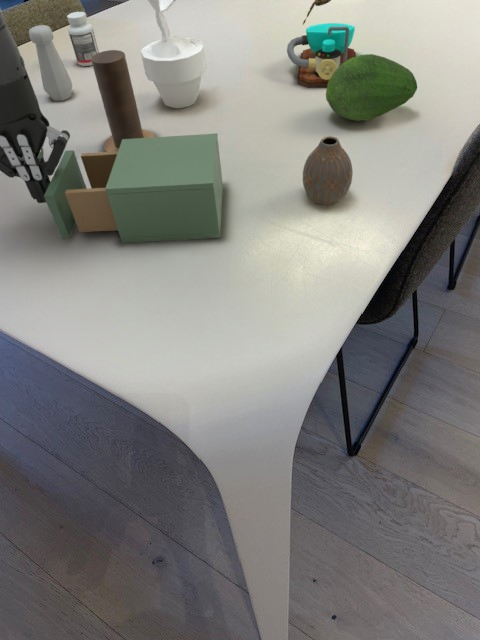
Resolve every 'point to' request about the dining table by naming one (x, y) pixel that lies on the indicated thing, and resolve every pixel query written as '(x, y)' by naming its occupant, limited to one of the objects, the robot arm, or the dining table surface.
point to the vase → (327, 172)
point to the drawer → (81, 193)
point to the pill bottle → (82, 38)
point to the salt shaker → (50, 64)
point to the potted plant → (174, 62)
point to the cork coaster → (111, 147)
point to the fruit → (369, 87)
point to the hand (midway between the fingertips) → (45, 199)
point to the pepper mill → (117, 95)
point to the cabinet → (167, 188)
